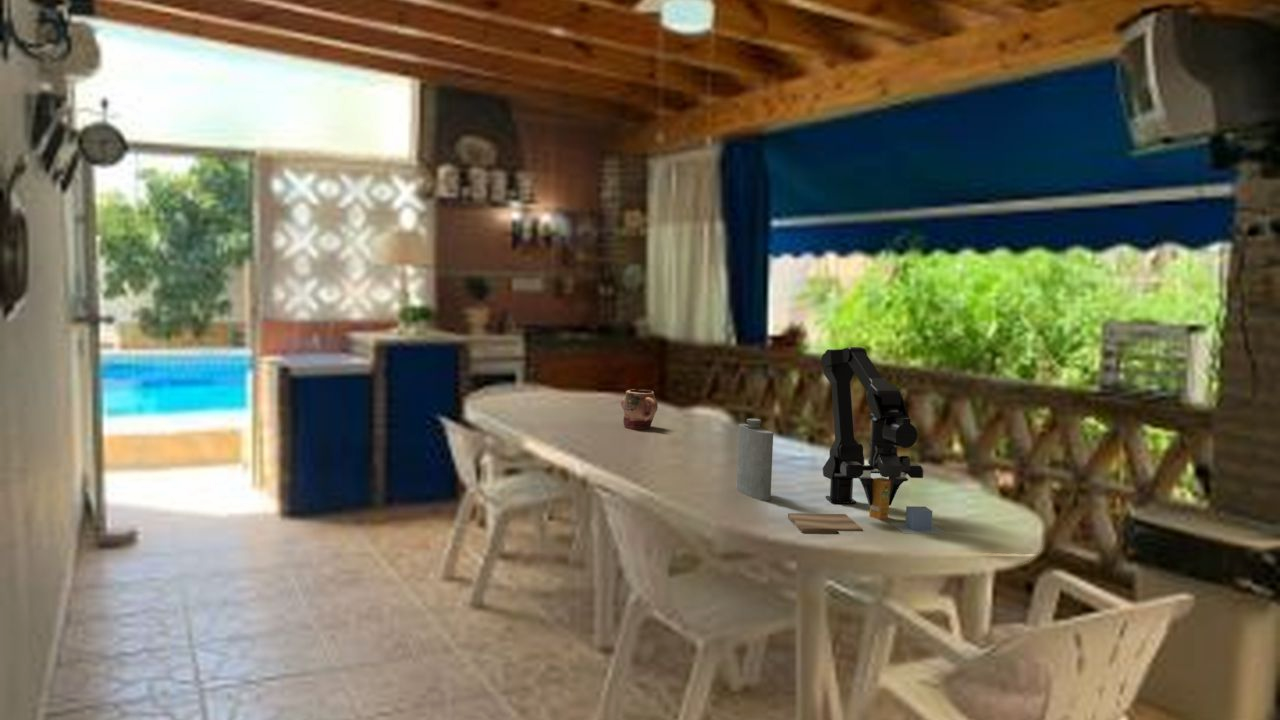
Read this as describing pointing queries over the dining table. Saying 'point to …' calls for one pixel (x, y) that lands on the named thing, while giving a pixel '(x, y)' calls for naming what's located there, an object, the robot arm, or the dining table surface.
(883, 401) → the robot arm
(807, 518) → the walnut board
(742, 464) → the hip flask
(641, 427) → the pink rounded hollow vessel
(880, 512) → the supplement box
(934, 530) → the grey mat
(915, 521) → the slate blue block
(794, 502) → the dining table surface
